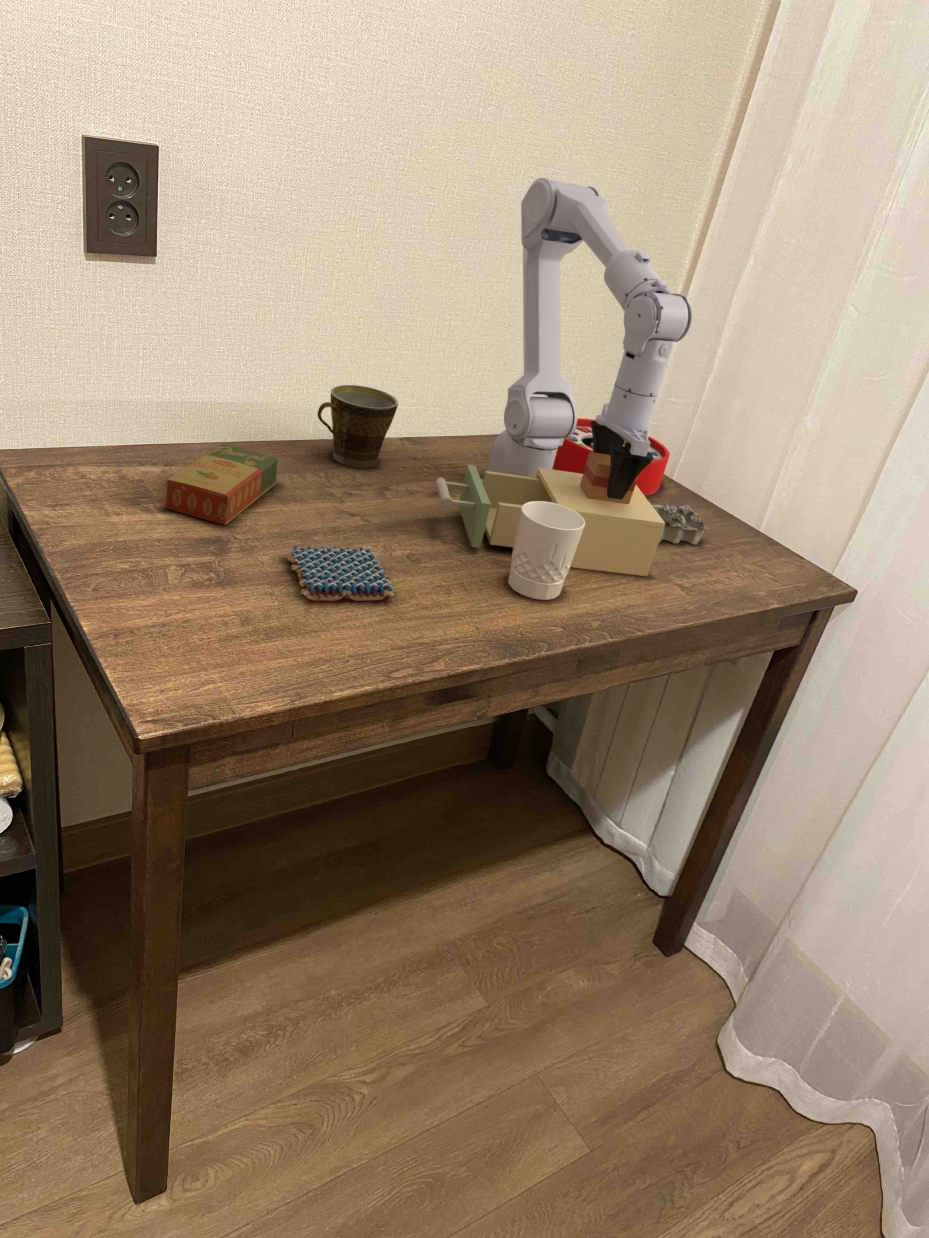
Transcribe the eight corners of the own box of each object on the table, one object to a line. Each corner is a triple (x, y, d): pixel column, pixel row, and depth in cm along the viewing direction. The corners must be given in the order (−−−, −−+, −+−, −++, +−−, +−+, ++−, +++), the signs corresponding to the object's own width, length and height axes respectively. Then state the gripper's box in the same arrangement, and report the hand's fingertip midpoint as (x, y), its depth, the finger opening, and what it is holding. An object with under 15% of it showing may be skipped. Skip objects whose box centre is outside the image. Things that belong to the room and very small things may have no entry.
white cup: (546, 610, 110) (568, 535, 105) (491, 584, 113) (509, 510, 108) (574, 590, 116) (595, 519, 111) (521, 565, 119) (540, 495, 114)
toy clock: (616, 418, 168) (693, 460, 155) (608, 447, 171) (682, 492, 157) (532, 418, 157) (607, 464, 143) (524, 450, 160) (597, 498, 146)
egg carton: (644, 543, 134) (653, 518, 132) (623, 520, 141) (631, 496, 139) (706, 546, 138) (715, 522, 136) (683, 524, 144) (691, 501, 142)
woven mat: (370, 559, 112) (373, 544, 111) (395, 604, 103) (398, 588, 102) (285, 557, 107) (287, 542, 106) (304, 604, 99) (306, 588, 98)
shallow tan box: (545, 564, 121) (560, 508, 117) (524, 519, 133) (537, 467, 129) (647, 576, 124) (665, 523, 120) (617, 531, 136) (633, 481, 132)
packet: (587, 498, 122) (598, 463, 120) (579, 485, 126) (589, 451, 123) (629, 504, 123) (640, 470, 121) (620, 491, 127) (630, 457, 125)
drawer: (437, 542, 118) (447, 498, 115) (427, 501, 129) (435, 460, 125) (569, 559, 122) (582, 516, 119) (548, 518, 133) (559, 478, 130)
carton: (163, 509, 112) (164, 477, 110) (220, 469, 126) (222, 440, 124) (227, 527, 111) (229, 494, 109) (277, 485, 125) (280, 455, 123)
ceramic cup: (361, 444, 145) (371, 383, 140) (400, 469, 140) (412, 406, 135) (292, 451, 137) (300, 387, 132) (331, 478, 131) (340, 411, 126)
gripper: (592, 368, 123) (566, 462, 129) (623, 402, 110) (593, 504, 117) (641, 376, 124) (612, 469, 131) (677, 411, 112) (643, 511, 119)
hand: (606, 486), depth 124 cm, fingers open, 7 cm apart
